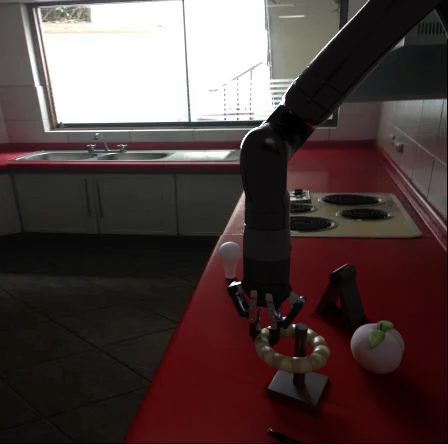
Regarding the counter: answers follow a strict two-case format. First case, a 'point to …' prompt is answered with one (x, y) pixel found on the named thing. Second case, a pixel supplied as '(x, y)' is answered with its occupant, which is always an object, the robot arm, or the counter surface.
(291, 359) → the beige segmented ring
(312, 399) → the post
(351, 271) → the phone stand
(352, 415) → the counter surface
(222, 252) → the lightbulb
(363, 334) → the decorative fruit
